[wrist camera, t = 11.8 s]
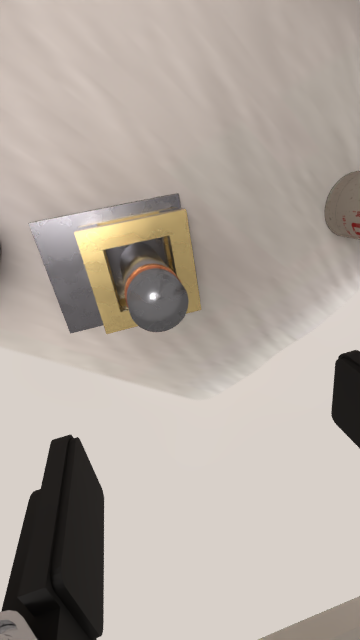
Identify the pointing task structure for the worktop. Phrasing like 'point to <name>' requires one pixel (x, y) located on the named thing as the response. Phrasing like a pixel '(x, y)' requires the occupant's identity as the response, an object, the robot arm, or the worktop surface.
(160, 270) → the tube
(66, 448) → the robot arm
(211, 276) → the worktop surface
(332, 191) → the thermos bottle
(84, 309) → the tan frame fixture
